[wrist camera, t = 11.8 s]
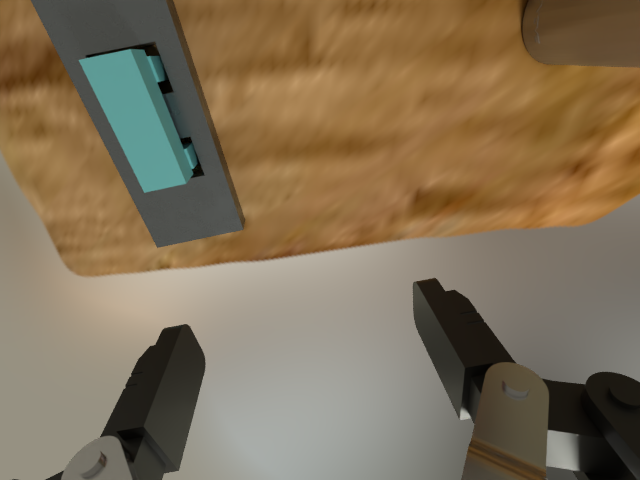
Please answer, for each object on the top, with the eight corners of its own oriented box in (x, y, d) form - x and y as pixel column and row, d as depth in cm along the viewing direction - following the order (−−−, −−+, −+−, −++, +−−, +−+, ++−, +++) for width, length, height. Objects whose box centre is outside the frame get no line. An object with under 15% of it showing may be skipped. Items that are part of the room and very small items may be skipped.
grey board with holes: (152, -63, 26) (140, -74, 24) (245, 220, 39) (243, 229, 37) (28, -39, 26) (6, -48, 24) (163, 237, 39) (157, 247, 37)
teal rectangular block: (158, 49, 30) (133, 48, 24) (201, 164, 35) (189, 183, 30) (110, 59, 30) (75, 60, 24) (161, 173, 35) (141, 193, 30)
